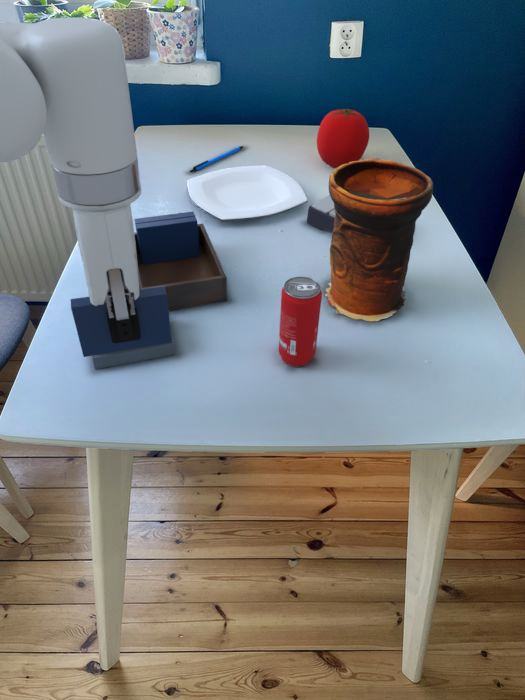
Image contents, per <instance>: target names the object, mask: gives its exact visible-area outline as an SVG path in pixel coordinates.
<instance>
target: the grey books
mask: <svg viewBox="0 0 525 700" xmlns="http://www.w3.org/2000/svg"><path fill="white" fill-rule="evenodd" d="M171 338H172V335H171ZM174 355H176V352H175V345H174V340H173V338H172V343H167V344H160V345H154V346H148V347H142V348H136V349H130V350H124V351H118V352H112V353H106V354H100V355H94V356H91V357H92V358H91V359H92V362H93V366H94V370H98V369H105V368H110V367H116V366H121V365H126V364H131V363H137V362H143V361H149V360H153V359H159V358H165V357H169V356H174Z"/></svg>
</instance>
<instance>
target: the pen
mask: <svg viewBox="0 0 525 700" xmlns="http://www.w3.org/2000/svg"><path fill="white" fill-rule="evenodd" d="M244 147H245V146H244V145H242V146H236V147H235V148H233V149H230V150H228V151H226V152H224V153H222V154H220V155H217V156H216V157H213V158H211V159H209V160H205V161H203V162H201V163H199V164H196V165H194V166H192V167H193V168H192V169H191V170H189V173H193V172H197V171H200V170H202V169H204V168H206V167H208V166H211V165H212V164H214V163H216V162H218V161H221V160H222V159H225V158H227V157H229V156H231V155H233V154H235V153H237V152H240V151H241V150H242V149H243V148H244Z"/></svg>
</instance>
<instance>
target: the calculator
mask: <svg viewBox="0 0 525 700" xmlns="http://www.w3.org/2000/svg"><path fill="white" fill-rule="evenodd" d="M335 215H336V213H335V209H334V202H333V201H332V199H331V196H330V194H328V195H327V196H325V197H323V198H321V199H319V200H318V201H316V202H313V203H312V204H311V205H309V206H308V208H307V215H306V216H307V217H306V224H308V225H310V226H311V227H314V228H315V229H317V230H320V231H324V230H325V231H327V232H330V233H332V232H333V229H334V220H335Z"/></svg>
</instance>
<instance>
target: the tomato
mask: <svg viewBox="0 0 525 700" xmlns="http://www.w3.org/2000/svg"><path fill="white" fill-rule="evenodd" d="M369 141H370V128H369V125H368V122H367V120H366V117H364V115H362V114H361V113H360V112H358V111H356V110H355V109H349V108H342V109H340V108H337V109H335V110H331V111H330V112H328V113H327V114H326V115H325V116H324V117H323V119H322V120H321V122H320V125H319V127H318V131H317V134H316V150H317V152H318V155H319V158H320V160H321V161H322V162H323V163H325V164H326V165H327V166H329V167H332V168H334V169H336V168H337V167H339V166H341V165H343V164H347V163H349V162H352V161H359V160H362V157H363V156H364V154H365V153H366V149H367V147H368V144H369Z"/></svg>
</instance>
